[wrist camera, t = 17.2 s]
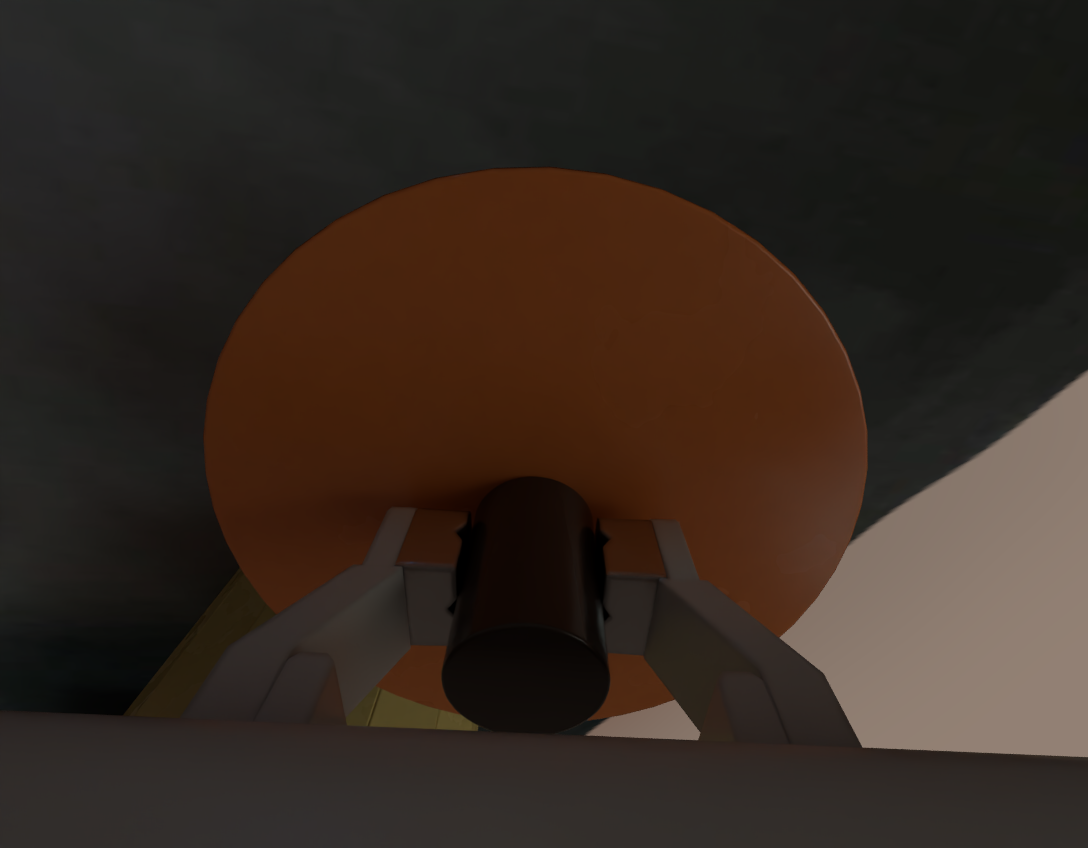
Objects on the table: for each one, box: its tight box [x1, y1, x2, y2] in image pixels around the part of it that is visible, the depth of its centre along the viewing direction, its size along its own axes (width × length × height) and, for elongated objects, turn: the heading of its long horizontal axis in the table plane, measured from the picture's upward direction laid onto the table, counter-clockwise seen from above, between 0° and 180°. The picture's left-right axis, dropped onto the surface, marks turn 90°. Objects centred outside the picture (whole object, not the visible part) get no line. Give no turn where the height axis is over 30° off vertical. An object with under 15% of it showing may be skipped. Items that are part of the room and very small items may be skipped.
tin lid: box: [203, 167, 867, 734], centre depth 9 cm, size 13×13×5 cm
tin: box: [123, 568, 478, 731], centre depth 21 cm, size 12×12×10 cm
